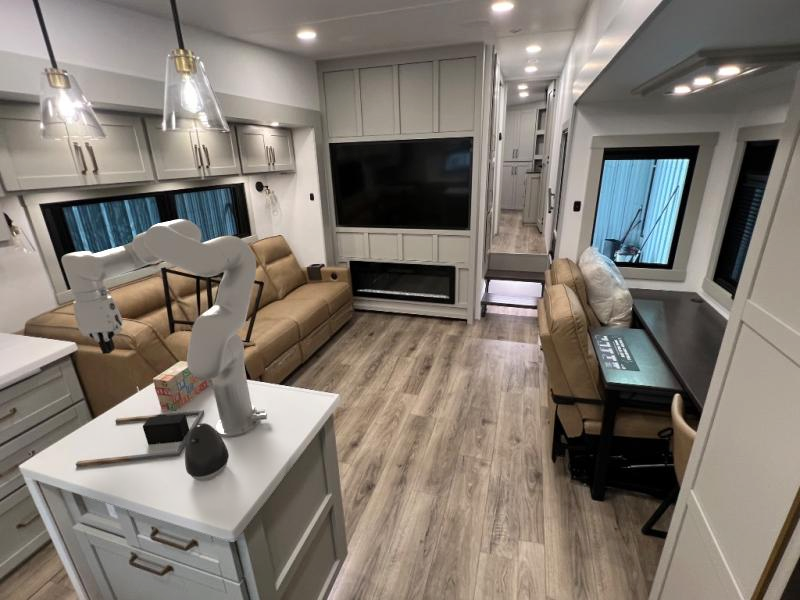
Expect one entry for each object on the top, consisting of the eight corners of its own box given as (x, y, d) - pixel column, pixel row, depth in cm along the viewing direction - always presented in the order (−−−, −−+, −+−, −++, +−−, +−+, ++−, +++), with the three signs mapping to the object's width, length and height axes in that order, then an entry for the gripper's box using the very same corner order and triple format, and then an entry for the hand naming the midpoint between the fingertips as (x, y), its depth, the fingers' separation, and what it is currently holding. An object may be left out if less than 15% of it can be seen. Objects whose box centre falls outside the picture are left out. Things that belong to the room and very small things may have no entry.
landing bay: (204, 413, 127) (204, 410, 126) (179, 456, 108) (178, 452, 107) (163, 417, 125) (162, 414, 125) (130, 461, 106) (129, 457, 106)
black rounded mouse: (181, 490, 96) (167, 441, 91) (198, 460, 106) (187, 414, 101) (223, 486, 97) (211, 438, 92) (236, 457, 107) (226, 411, 102)
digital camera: (192, 429, 119) (187, 411, 116) (185, 441, 114) (179, 422, 111) (157, 433, 118) (151, 414, 115) (148, 445, 113) (142, 425, 110)
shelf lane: (163, 417, 125) (162, 414, 125) (130, 461, 106) (129, 457, 106) (117, 421, 124) (116, 418, 123) (76, 467, 105) (75, 463, 105)
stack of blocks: (205, 377, 149) (198, 349, 145) (218, 378, 147) (212, 350, 143) (160, 409, 129) (151, 378, 125) (176, 412, 128) (167, 380, 124)
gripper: (125, 289, 114) (141, 344, 120) (71, 292, 112) (90, 348, 118) (110, 297, 107) (128, 355, 113) (52, 301, 105) (74, 359, 111)
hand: (108, 351), depth 116 cm, fingers closed
